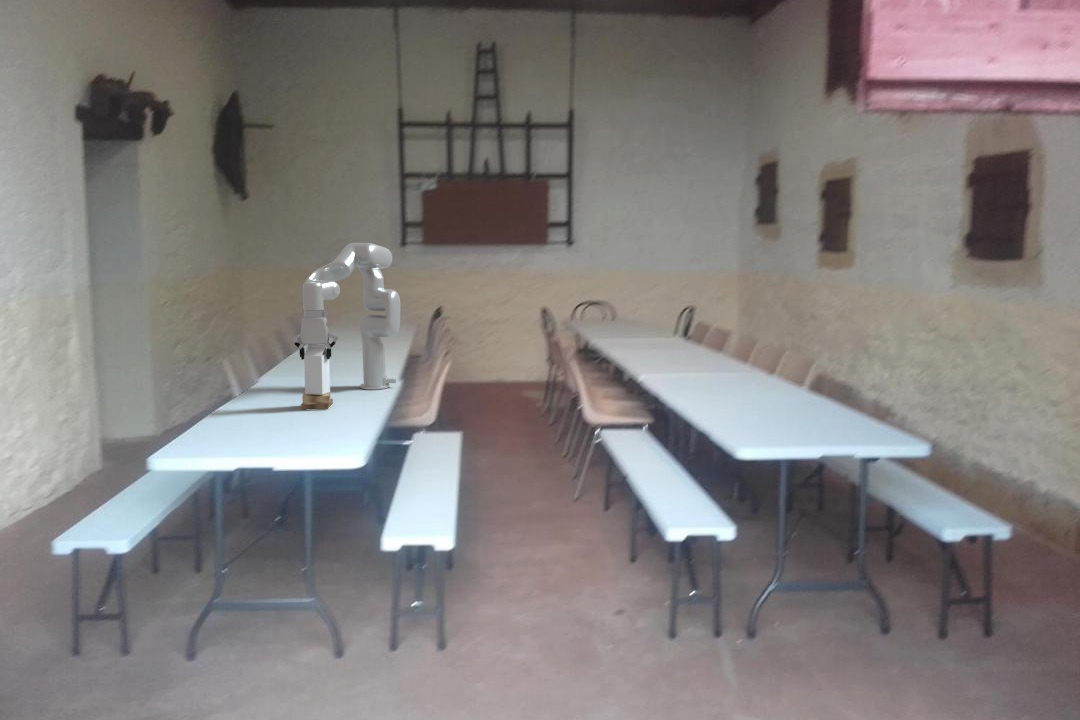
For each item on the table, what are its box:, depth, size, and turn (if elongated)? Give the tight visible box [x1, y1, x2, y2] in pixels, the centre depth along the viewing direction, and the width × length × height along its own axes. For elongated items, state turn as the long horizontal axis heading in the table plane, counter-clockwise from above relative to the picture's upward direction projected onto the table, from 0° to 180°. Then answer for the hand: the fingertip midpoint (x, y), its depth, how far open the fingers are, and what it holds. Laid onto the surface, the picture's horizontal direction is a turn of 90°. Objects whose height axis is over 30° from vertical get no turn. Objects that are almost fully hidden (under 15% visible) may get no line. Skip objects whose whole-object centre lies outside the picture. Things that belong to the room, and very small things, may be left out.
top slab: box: [301, 391, 332, 405], centre depth 341 cm, size 10×10×3 cm
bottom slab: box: [300, 398, 334, 411], centre depth 342 cm, size 10×10×3 cm
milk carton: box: [303, 344, 331, 395], centre depth 340 cm, size 7×7×19 cm
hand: (315, 358), depth 339 cm, fingers open, 9 cm apart
